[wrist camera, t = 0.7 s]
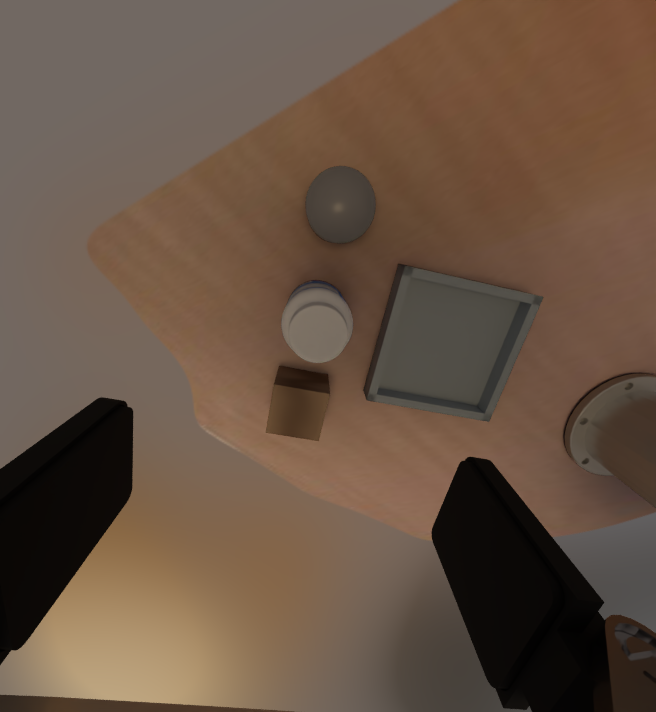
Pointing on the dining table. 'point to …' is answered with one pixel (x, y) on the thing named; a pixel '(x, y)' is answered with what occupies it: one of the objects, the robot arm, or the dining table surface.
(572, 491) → the dining table surface
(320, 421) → the walnut block
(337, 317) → the pill bottle
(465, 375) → the slate tray
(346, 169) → the smooth grey pebble
